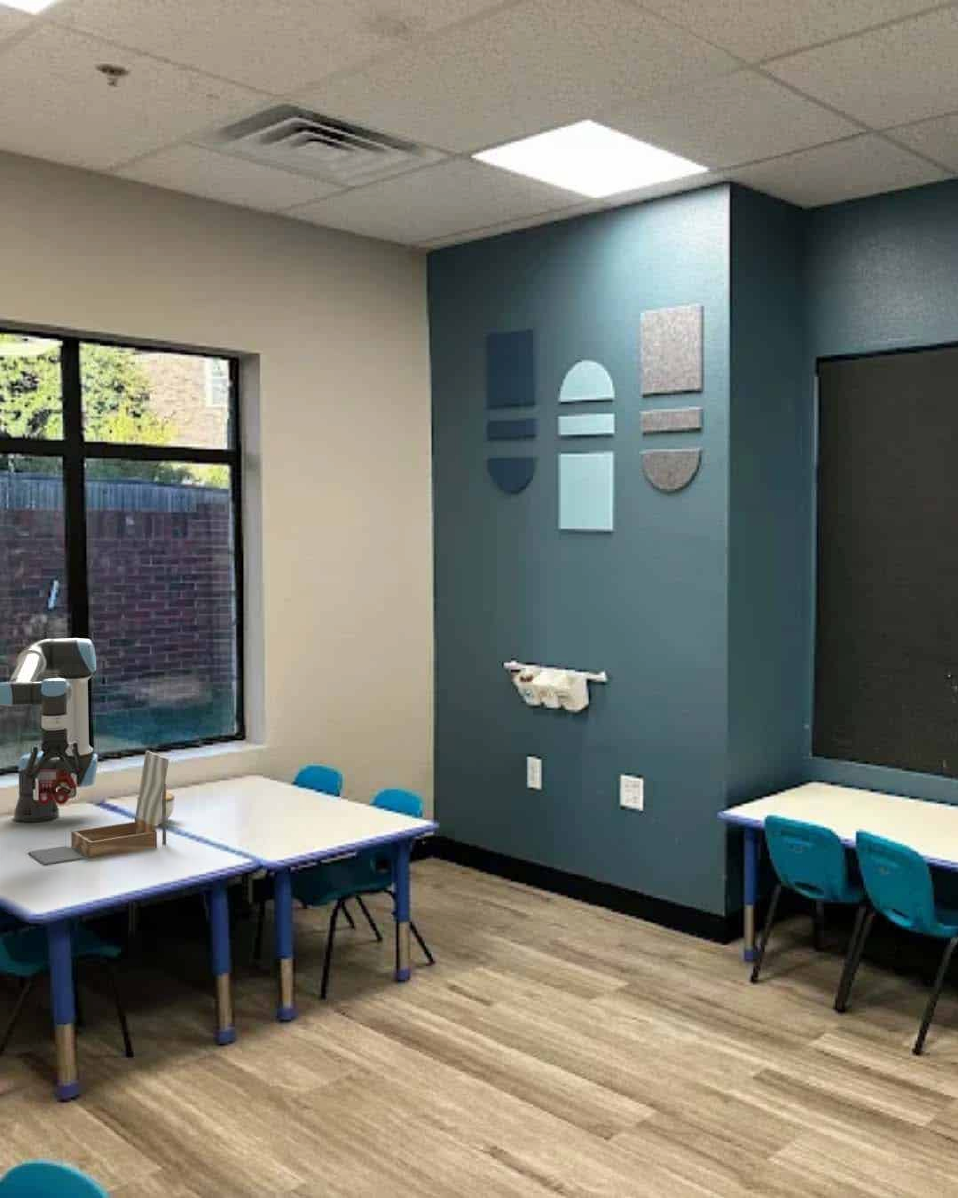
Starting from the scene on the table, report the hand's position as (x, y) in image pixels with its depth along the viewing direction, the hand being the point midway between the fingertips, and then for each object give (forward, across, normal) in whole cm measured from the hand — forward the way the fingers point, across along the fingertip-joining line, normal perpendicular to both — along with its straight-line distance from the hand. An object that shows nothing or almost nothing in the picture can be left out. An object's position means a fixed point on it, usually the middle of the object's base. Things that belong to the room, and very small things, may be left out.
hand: (55, 797), depth 364 cm
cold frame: (+19, +21, 0) cm, 28 cm away
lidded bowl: (+19, +43, +23) cm, 52 cm away
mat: (+19, 0, 0) cm, 19 cm away
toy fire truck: (+2, 0, 0) cm, 2 cm away
